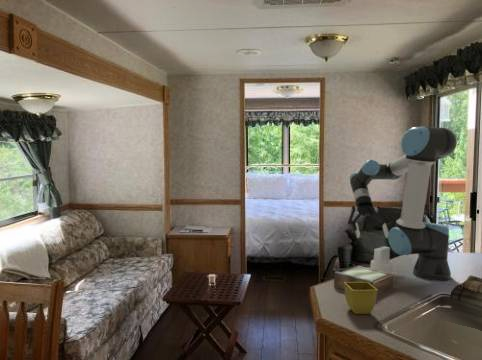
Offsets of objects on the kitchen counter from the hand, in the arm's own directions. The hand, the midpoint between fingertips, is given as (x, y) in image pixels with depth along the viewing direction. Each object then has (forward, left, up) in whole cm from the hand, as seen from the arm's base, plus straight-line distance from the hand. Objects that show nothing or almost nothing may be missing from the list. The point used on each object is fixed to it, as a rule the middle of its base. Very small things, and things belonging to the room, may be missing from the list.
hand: (373, 236), depth 194 cm
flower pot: (-23, +51, -15) cm, 58 cm away
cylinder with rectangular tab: (-8, +7, -15) cm, 19 cm away
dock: (-11, +27, -15) cm, 33 cm away
